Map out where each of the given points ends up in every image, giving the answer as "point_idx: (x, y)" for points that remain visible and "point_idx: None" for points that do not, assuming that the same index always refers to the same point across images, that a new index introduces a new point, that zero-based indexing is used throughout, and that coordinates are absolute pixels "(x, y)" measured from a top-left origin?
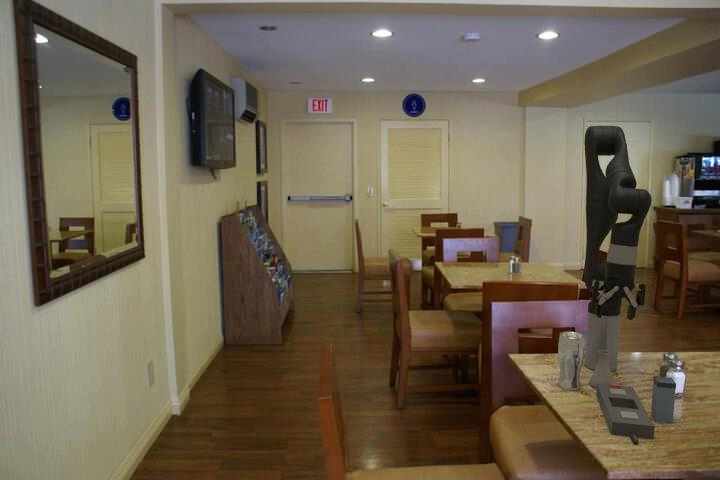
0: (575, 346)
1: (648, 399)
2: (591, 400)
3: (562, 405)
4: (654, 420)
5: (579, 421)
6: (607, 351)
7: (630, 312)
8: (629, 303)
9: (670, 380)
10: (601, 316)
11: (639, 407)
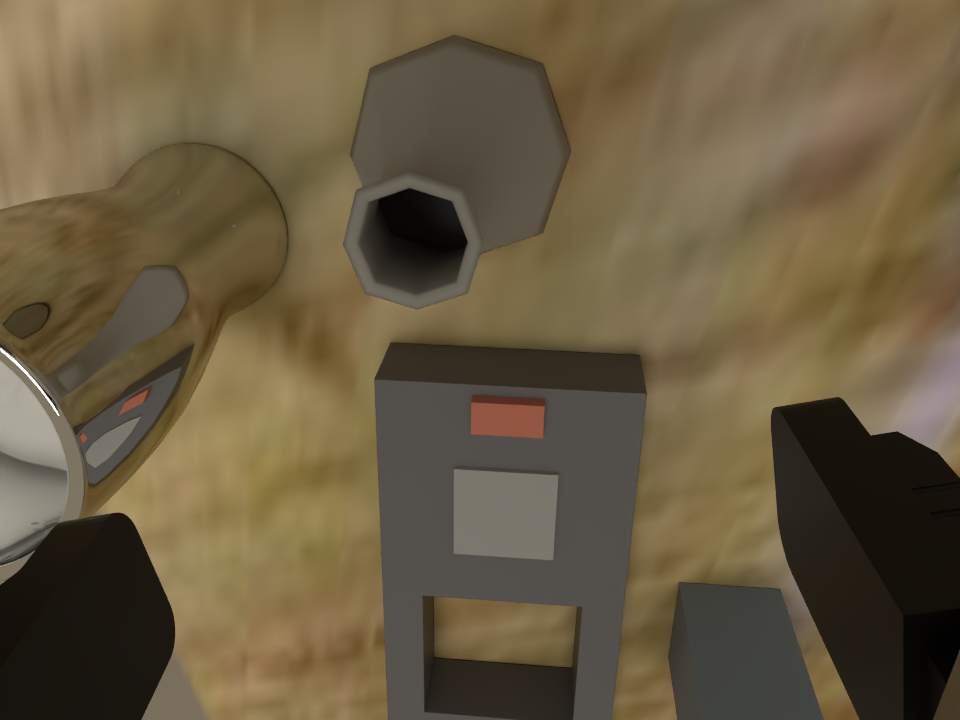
0: (44, 526)
1: (754, 366)
2: (348, 452)
3: (173, 550)
4: (669, 651)
5: (265, 708)
6: (458, 217)
7: (838, 645)
8: (953, 701)
9: None
10: (163, 665)
11: (584, 704)
